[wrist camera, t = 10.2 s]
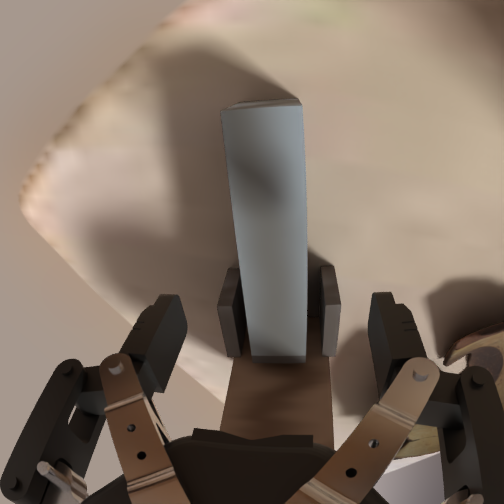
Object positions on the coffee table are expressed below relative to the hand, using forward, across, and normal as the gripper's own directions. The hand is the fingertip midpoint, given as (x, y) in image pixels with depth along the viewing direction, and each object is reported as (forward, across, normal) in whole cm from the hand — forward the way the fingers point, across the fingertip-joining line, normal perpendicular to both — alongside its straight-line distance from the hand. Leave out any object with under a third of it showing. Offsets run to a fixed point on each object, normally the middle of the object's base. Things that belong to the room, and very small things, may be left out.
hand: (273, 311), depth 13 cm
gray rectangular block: (+10, 0, 0) cm, 10 cm away
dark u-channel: (+10, +1, +10) cm, 15 cm away
